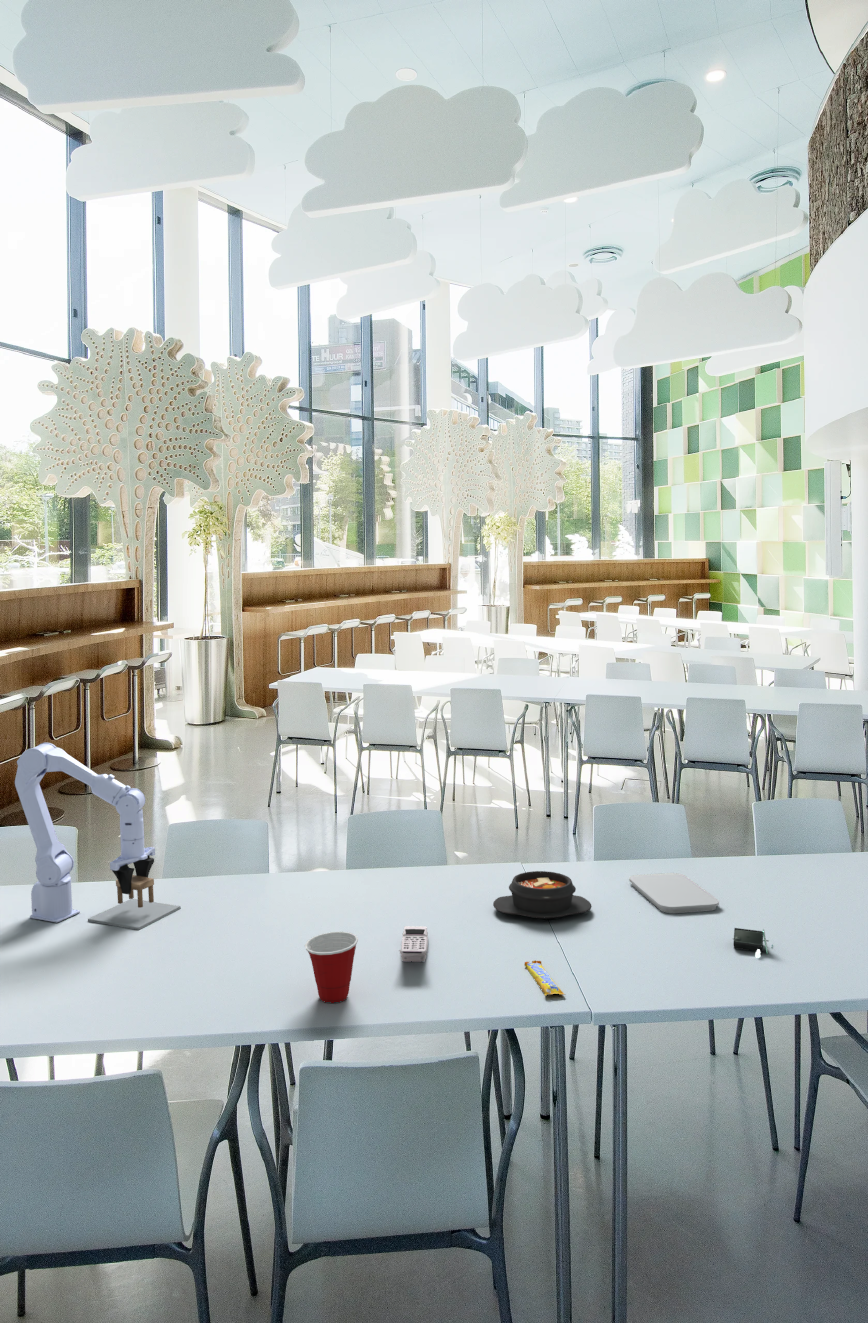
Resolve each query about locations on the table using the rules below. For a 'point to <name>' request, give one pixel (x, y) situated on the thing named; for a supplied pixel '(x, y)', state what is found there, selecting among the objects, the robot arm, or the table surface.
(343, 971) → the plastic cup
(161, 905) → the mat
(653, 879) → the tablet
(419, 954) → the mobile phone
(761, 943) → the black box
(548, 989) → the candy bar
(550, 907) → the casserole
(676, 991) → the table surface
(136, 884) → the stool
